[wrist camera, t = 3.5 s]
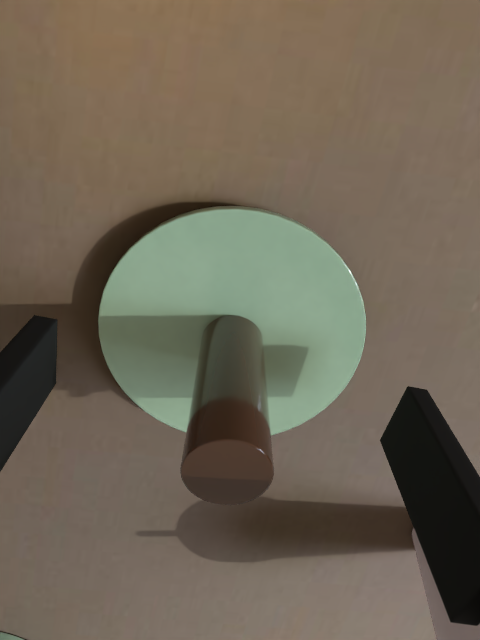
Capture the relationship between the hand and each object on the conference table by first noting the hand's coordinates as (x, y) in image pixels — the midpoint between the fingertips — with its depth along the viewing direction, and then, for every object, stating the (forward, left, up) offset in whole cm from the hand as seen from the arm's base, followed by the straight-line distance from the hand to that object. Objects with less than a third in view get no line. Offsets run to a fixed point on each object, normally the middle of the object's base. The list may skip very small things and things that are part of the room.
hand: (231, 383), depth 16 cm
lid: (0, 0, -3) cm, 3 cm away
